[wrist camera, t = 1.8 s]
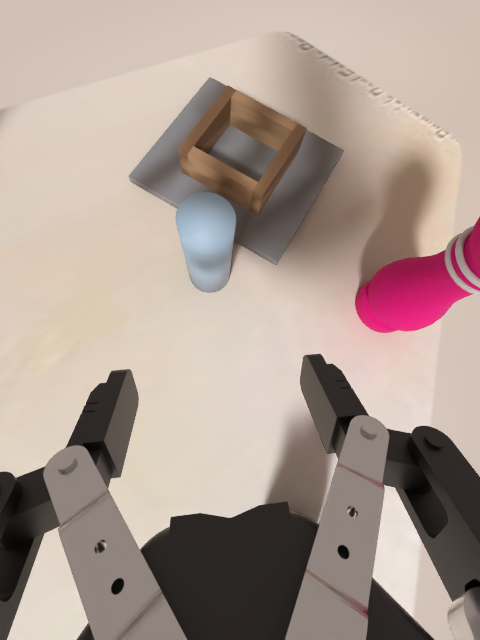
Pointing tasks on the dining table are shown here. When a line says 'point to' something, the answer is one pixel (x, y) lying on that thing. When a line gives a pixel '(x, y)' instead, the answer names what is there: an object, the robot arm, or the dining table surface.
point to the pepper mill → (421, 286)
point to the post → (207, 239)
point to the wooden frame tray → (240, 165)
